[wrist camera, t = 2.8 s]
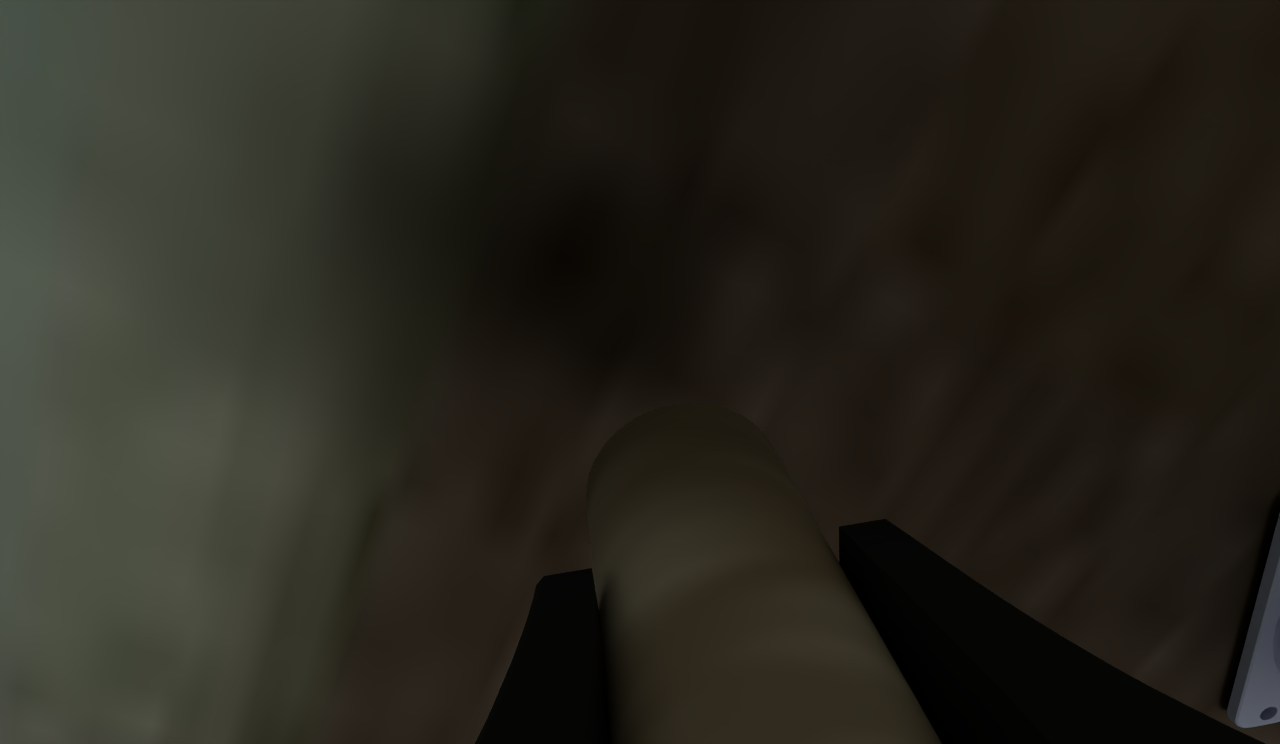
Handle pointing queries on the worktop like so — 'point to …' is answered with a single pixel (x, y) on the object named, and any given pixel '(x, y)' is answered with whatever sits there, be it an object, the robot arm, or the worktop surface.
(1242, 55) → the worktop surface
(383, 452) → the worktop surface
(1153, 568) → the worktop surface
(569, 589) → the robot arm
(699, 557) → the key peg
